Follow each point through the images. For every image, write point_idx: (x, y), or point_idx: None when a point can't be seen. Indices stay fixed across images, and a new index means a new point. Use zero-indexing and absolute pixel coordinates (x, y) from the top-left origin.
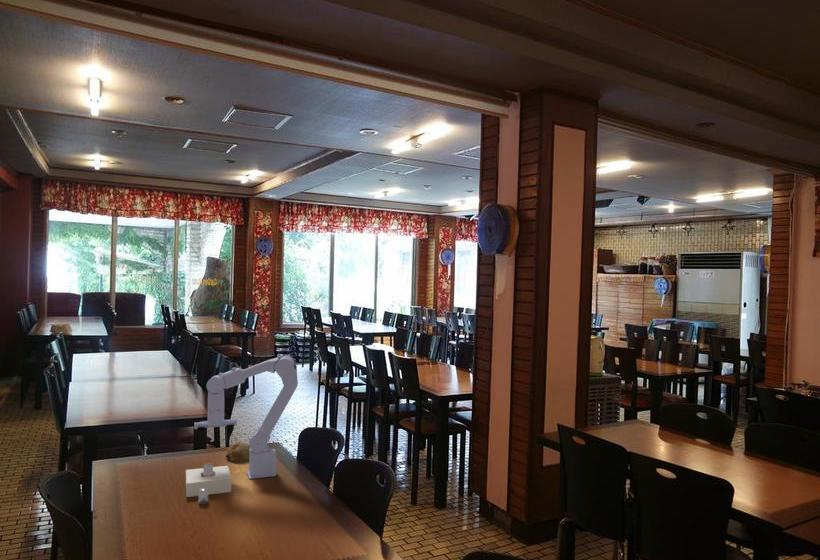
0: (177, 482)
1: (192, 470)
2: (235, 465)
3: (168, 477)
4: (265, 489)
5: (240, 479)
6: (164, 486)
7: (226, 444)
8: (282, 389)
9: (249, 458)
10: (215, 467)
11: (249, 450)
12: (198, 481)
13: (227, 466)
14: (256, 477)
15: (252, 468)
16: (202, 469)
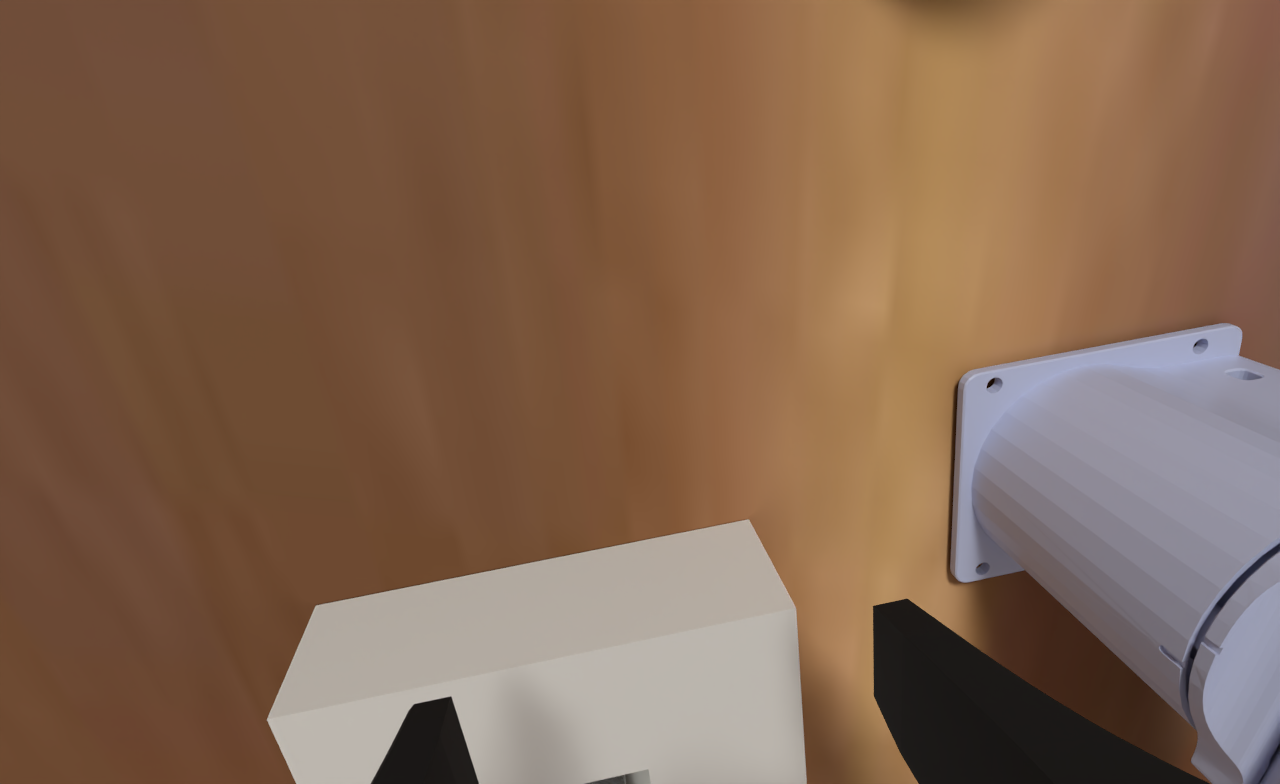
0: (211, 584)
1: (366, 741)
2: (851, 51)
3: (5, 411)
4: None
5: (867, 561)
6: (105, 678)
7: (907, 743)
8: None
9: (1098, 598)
10: (644, 659)
11: (1195, 671)
12: None
13: (789, 637)
14: (1018, 569)
15: (1043, 587)
16: (489, 714)
